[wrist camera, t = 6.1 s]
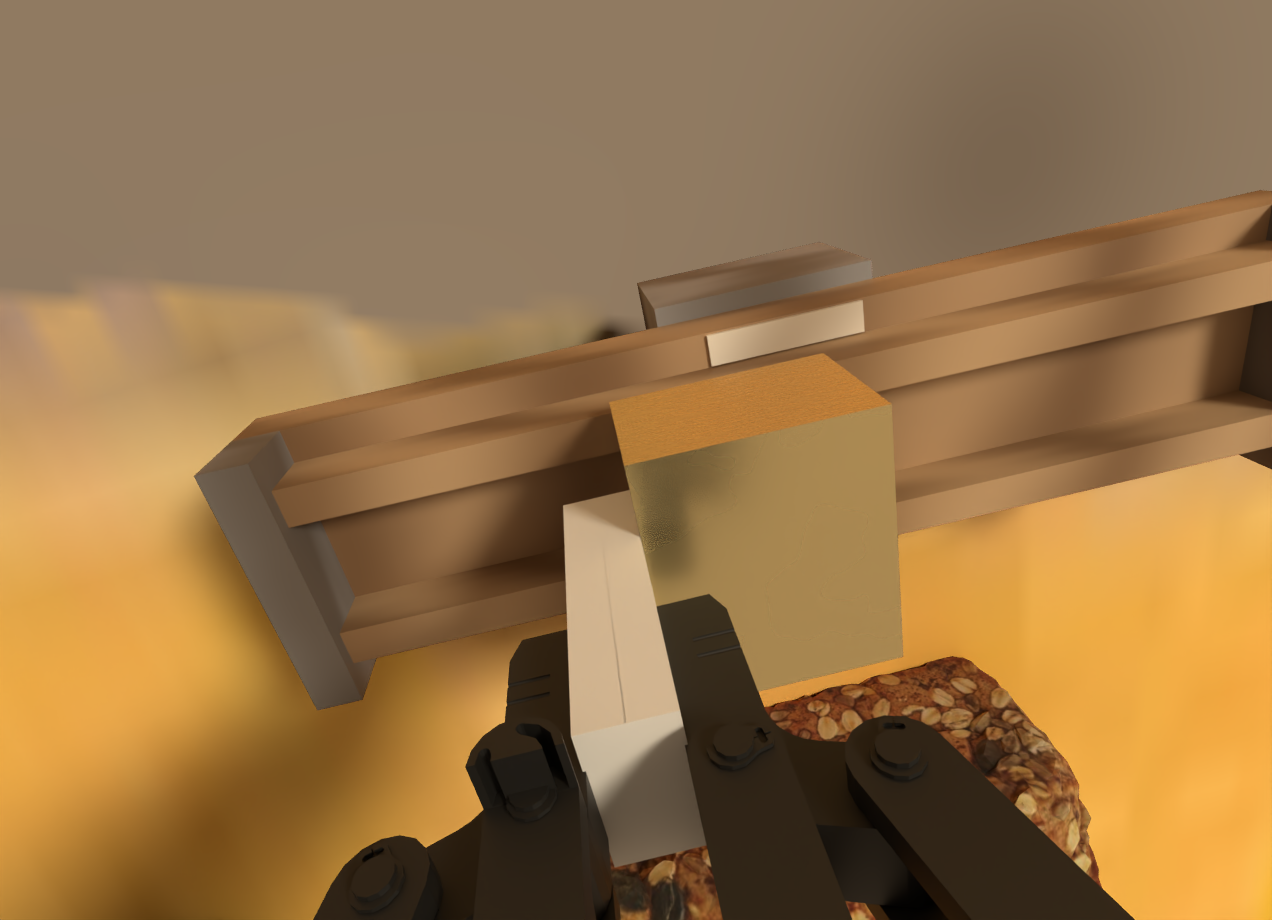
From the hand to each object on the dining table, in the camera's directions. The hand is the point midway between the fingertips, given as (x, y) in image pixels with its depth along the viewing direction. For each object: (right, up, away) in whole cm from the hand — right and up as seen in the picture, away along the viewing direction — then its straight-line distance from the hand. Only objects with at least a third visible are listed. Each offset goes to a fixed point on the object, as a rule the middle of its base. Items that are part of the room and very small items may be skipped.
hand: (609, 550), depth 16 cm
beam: (+4, +5, +8) cm, 11 cm away
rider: (+3, +2, +3) cm, 5 cm away
